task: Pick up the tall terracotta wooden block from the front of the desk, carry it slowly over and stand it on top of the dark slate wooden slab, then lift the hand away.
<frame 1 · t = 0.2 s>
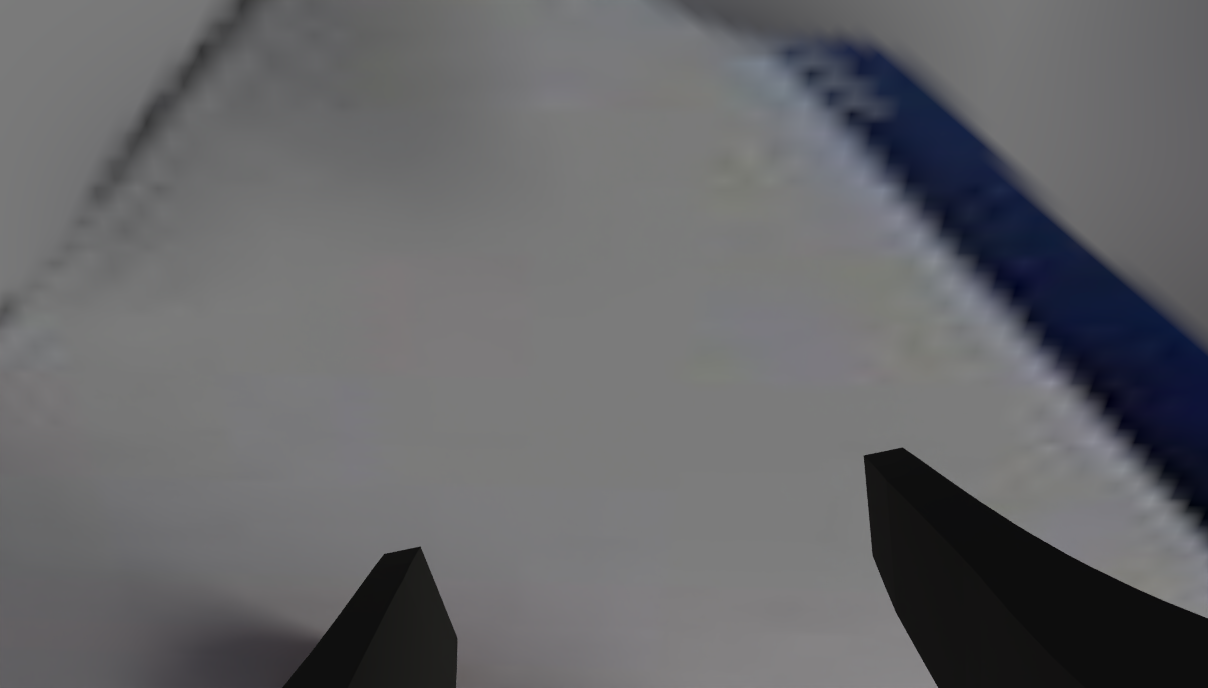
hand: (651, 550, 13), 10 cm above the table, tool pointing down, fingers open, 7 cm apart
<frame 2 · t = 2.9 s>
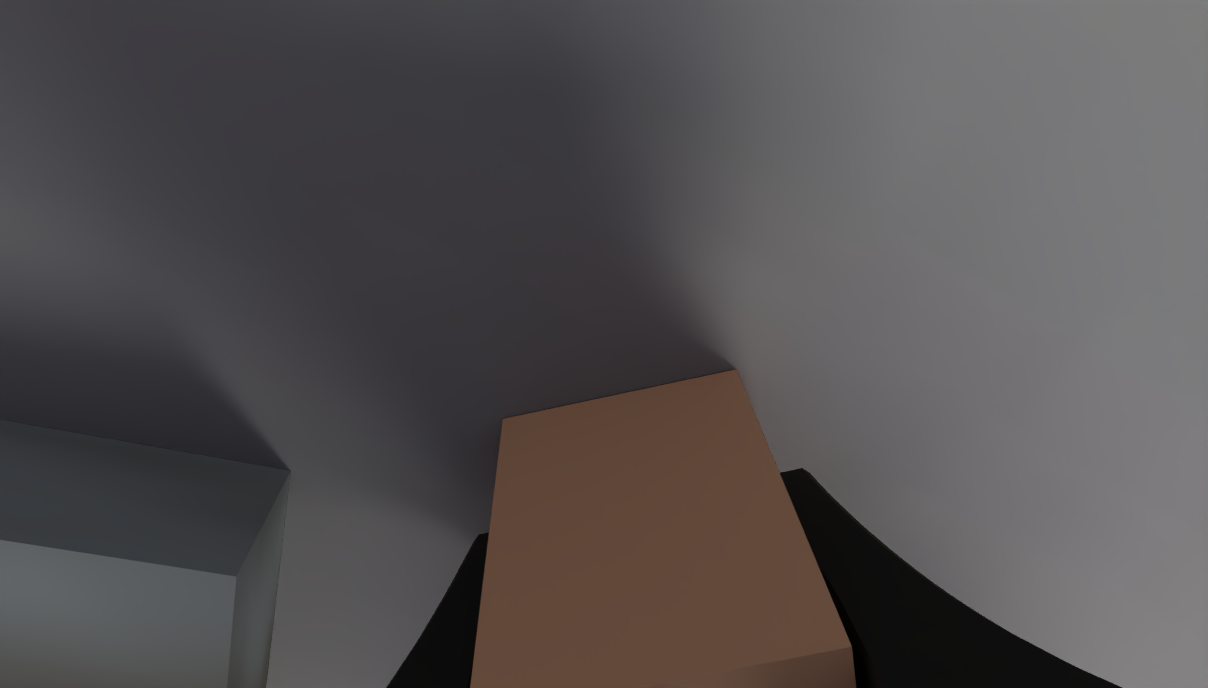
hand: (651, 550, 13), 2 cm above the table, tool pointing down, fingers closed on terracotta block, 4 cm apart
terracotta block: (641, 489, 15), on the table, touching gripper
slate slab: (59, 593, 15), on the table
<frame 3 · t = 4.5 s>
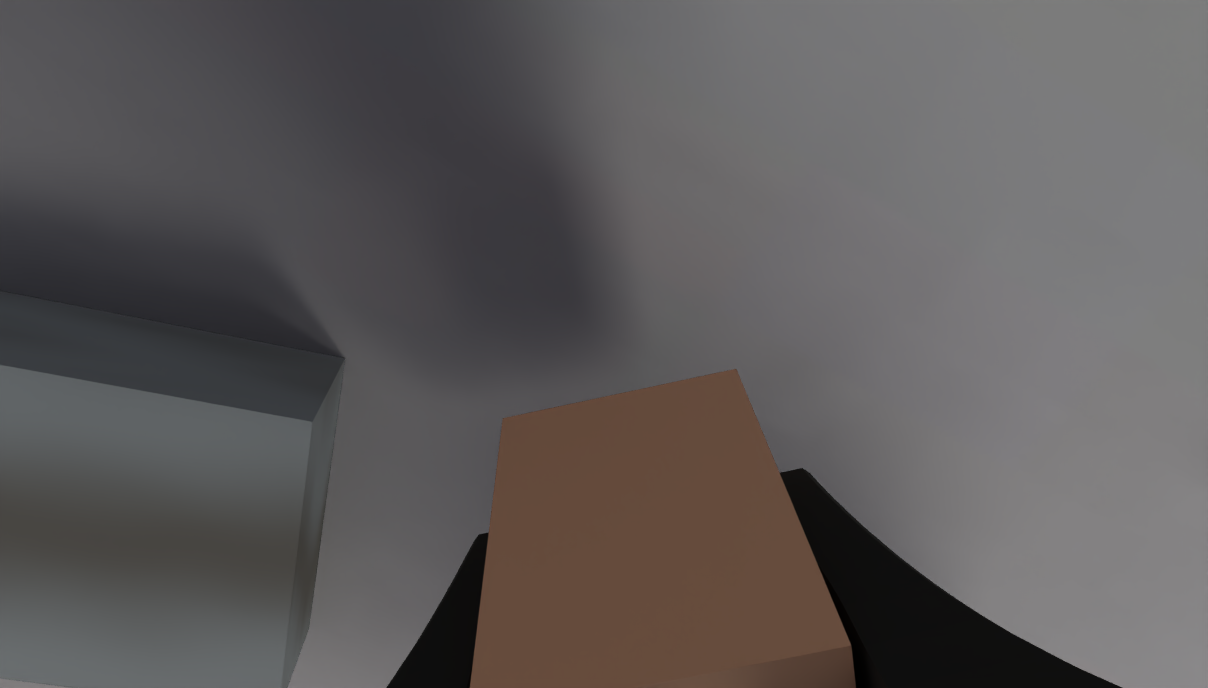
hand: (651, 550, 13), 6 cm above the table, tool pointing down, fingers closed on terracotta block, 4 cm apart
terracotta block: (641, 489, 15), point 4 cm above the table, touching gripper
slate slab: (155, 465, 19), on the table
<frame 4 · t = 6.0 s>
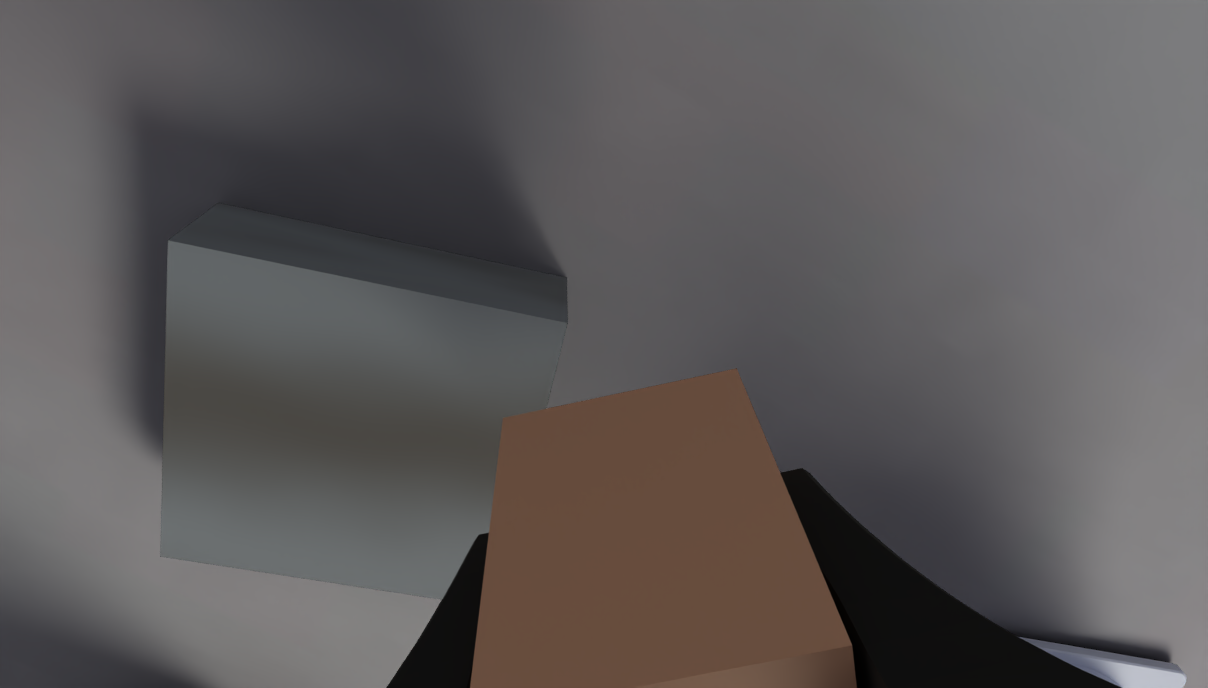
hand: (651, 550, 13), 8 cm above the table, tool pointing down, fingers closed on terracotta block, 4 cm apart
terracotta block: (641, 488, 15), point 6 cm above the table, touching gripper
slate slab: (379, 382, 21), on the table
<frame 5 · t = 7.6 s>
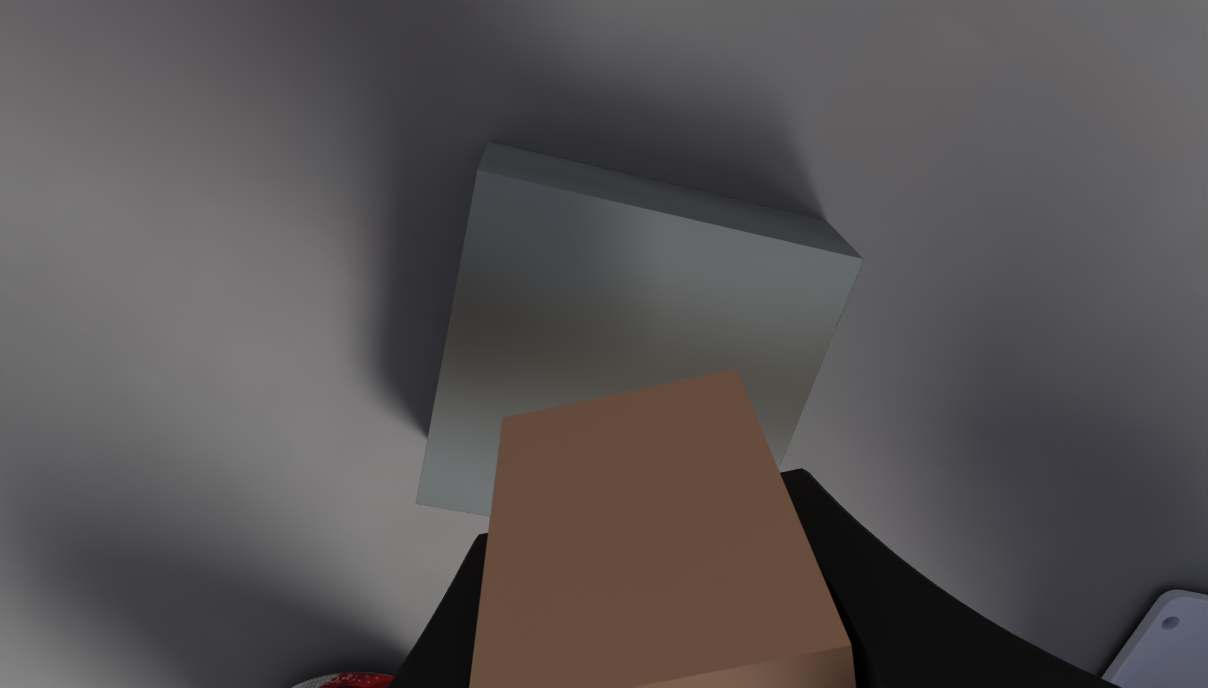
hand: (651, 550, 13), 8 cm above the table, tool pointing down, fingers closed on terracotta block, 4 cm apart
terracotta block: (641, 488, 15), point 6 cm above the table, touching gripper
slate slab: (617, 330, 21), on the table
when the fingers open (6 cm above the table, at t = 9.1 s): terracotta block drops 1 cm, point 3 cm above the table.
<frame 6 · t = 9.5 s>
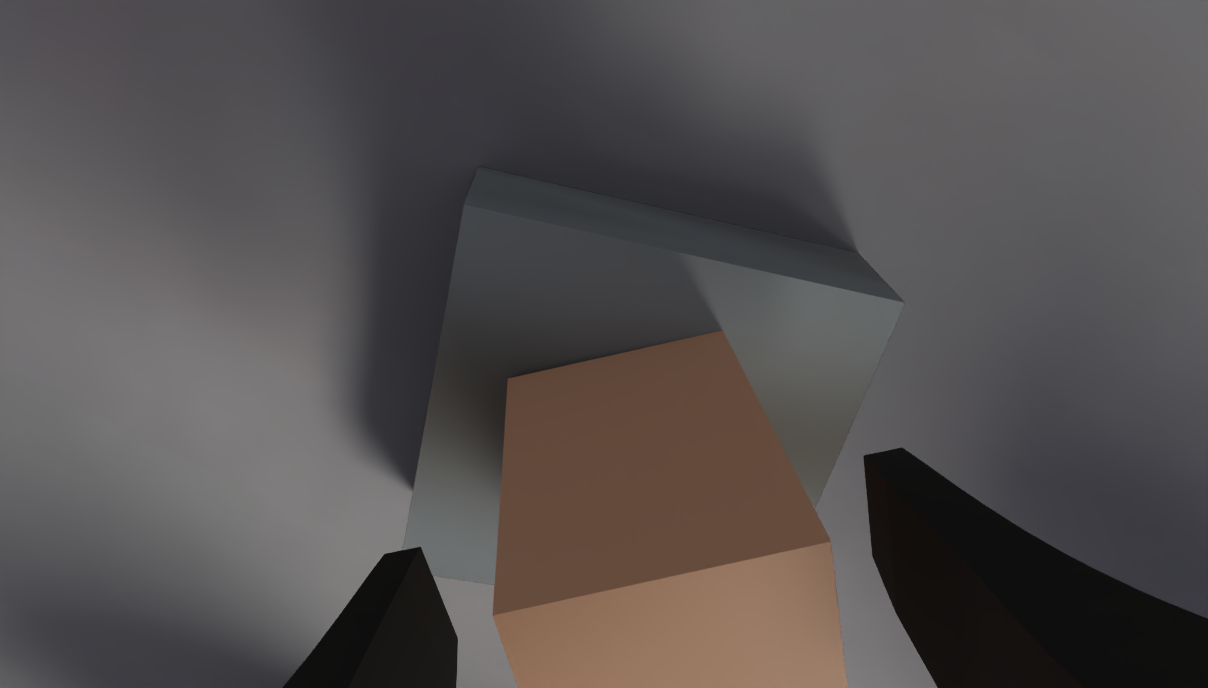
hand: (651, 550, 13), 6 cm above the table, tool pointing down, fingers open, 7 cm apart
terracotta block: (635, 445, 16), point 3 cm above the table
slate slab: (624, 372, 19), on the table
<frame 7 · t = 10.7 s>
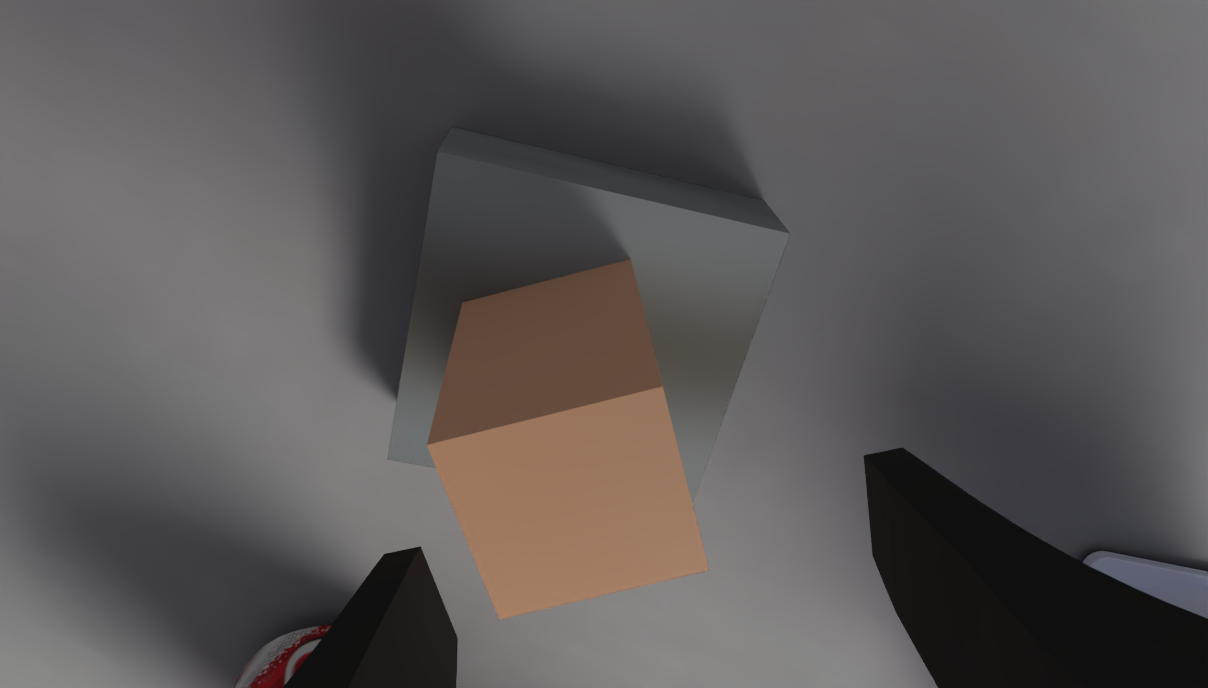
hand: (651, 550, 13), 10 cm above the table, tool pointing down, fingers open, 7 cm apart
soda can: (351, 677, 28), on the table
terracotta block: (569, 355, 20), point 3 cm above the table, touching slate slab
slate slab: (575, 303, 22), on the table, touching terracotta block
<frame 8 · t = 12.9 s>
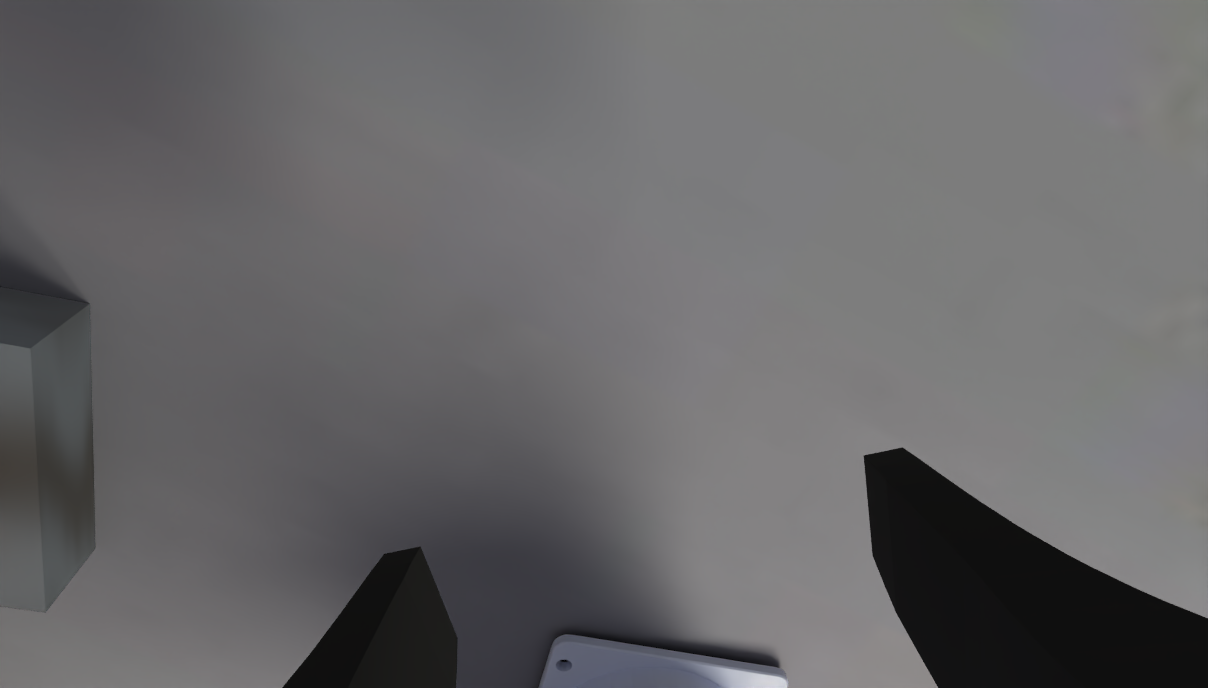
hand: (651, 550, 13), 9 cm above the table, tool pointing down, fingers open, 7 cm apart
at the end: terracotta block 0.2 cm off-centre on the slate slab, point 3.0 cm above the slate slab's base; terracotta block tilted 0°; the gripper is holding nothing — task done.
